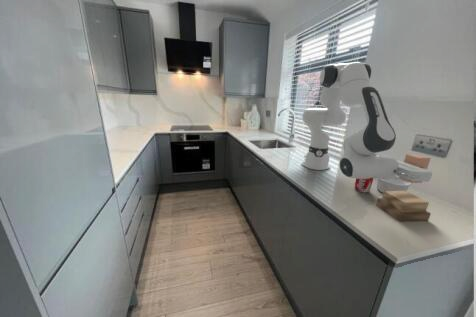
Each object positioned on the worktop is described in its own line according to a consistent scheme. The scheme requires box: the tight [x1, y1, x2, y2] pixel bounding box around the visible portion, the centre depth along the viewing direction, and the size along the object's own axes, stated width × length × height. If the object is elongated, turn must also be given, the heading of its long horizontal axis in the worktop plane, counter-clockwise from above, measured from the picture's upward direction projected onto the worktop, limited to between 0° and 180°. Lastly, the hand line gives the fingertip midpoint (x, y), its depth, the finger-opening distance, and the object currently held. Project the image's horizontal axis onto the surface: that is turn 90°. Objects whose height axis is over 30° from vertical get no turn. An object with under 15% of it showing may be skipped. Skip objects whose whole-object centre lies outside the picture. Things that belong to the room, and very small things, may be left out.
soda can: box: [354, 178, 374, 193], centre depth 98 cm, size 7×7×12 cm
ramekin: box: [376, 175, 411, 194], centre depth 99 cm, size 13×13×7 cm
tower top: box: [381, 190, 430, 212], centre depth 79 cm, size 10×10×4 cm
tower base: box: [376, 197, 432, 223], centre depth 81 cm, size 12×12×4 cm
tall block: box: [398, 153, 431, 184], centre depth 75 cm, size 5×5×10 cm
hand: (416, 167), depth 75 cm, fingers closed on tall block, 5 cm apart
